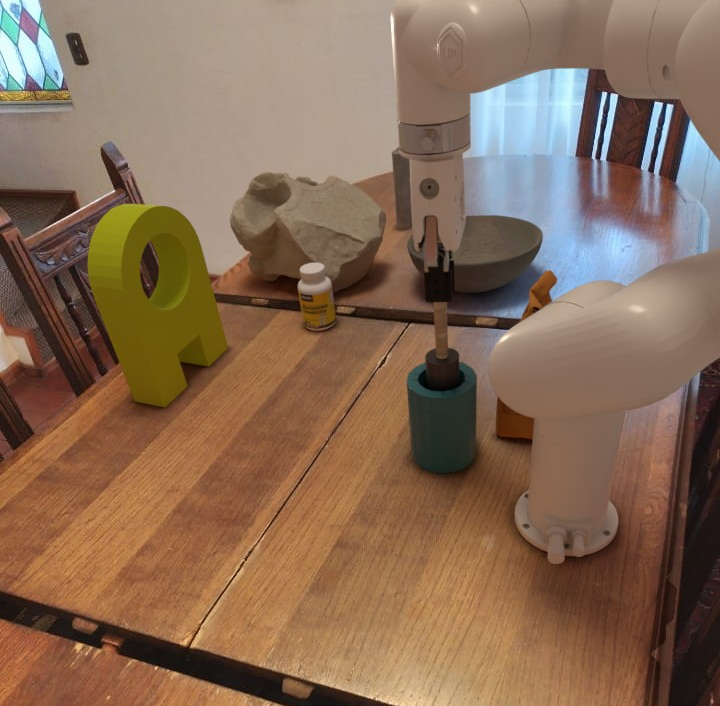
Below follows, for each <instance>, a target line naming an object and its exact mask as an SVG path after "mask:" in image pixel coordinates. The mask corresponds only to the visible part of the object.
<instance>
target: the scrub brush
mask: <svg viewBox="0 0 720 706" xmlns="http://www.w3.org/2000/svg"><path fill="white" fill-rule="evenodd" d="M438 255H442V257H443V253H438ZM433 320H434V321H433V322H434V340H435V341H434V343H435V348H433V349H430V350H429V351H428V352H427V353H426V354H425V356H424V359H425V362H426V379H427V385H428V386H429V387H430V388H431V389H434V390H438V391H446V390H450V389H453V388H455V387H456V386H458V384H459V382H460V368H459V362H460V353H459V351H457V350H456V349H454V348H452V347H449V333H448V332H449V331H448V302H433Z"/></svg>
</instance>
